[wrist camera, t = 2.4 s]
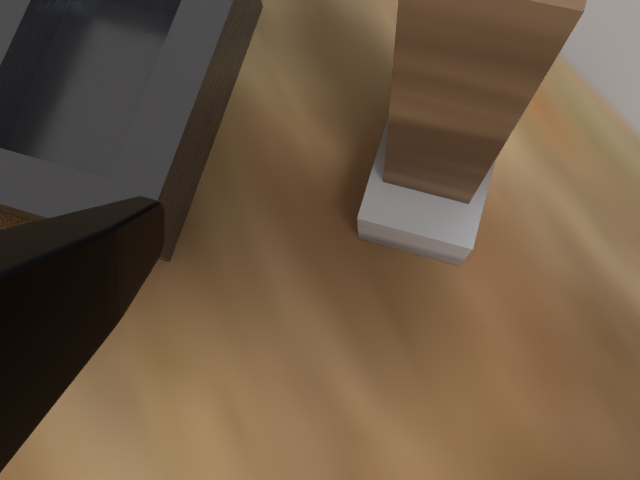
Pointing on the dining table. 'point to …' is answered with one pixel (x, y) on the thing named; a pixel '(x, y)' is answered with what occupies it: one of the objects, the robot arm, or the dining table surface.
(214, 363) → the dining table surface
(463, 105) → the slot cleaner tool
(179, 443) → the dining table surface
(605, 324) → the dining table surface
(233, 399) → the dining table surface
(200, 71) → the holder block
